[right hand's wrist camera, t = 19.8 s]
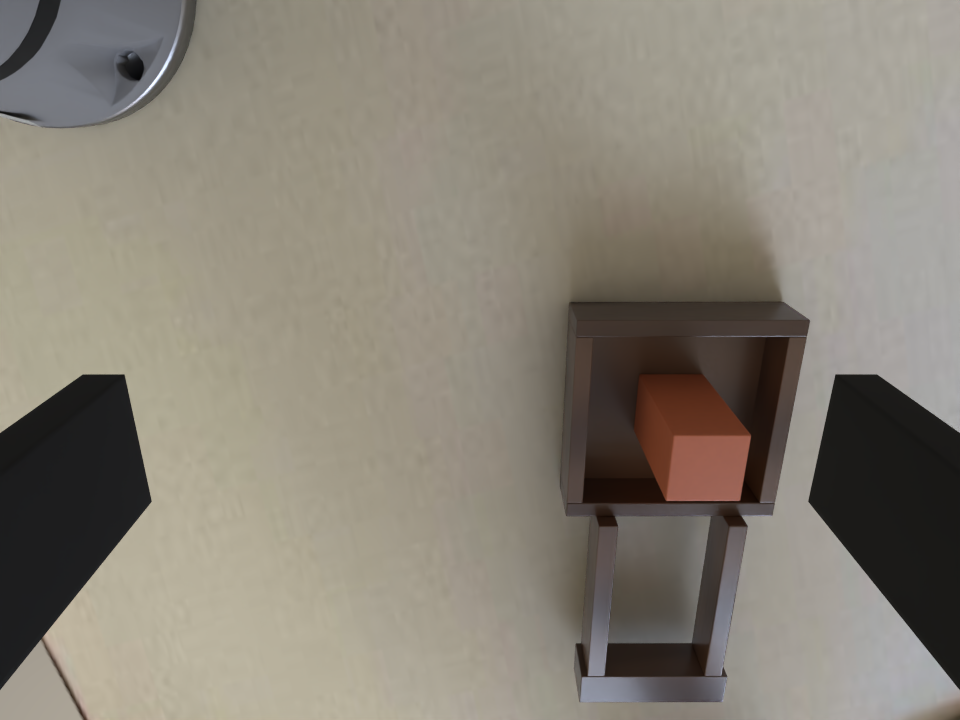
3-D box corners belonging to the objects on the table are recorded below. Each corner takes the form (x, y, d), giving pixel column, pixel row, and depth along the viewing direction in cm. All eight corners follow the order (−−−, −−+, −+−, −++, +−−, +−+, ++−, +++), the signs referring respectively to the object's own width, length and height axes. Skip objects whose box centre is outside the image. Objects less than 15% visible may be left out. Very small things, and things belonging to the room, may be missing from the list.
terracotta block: (638, 373, 42) (673, 435, 34) (703, 373, 42) (752, 434, 34) (633, 430, 43) (665, 501, 36) (695, 430, 43) (740, 501, 36)
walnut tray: (569, 302, 40) (579, 326, 36) (784, 301, 40) (819, 325, 36) (551, 652, 51) (557, 702, 47) (722, 652, 51) (744, 702, 47)
